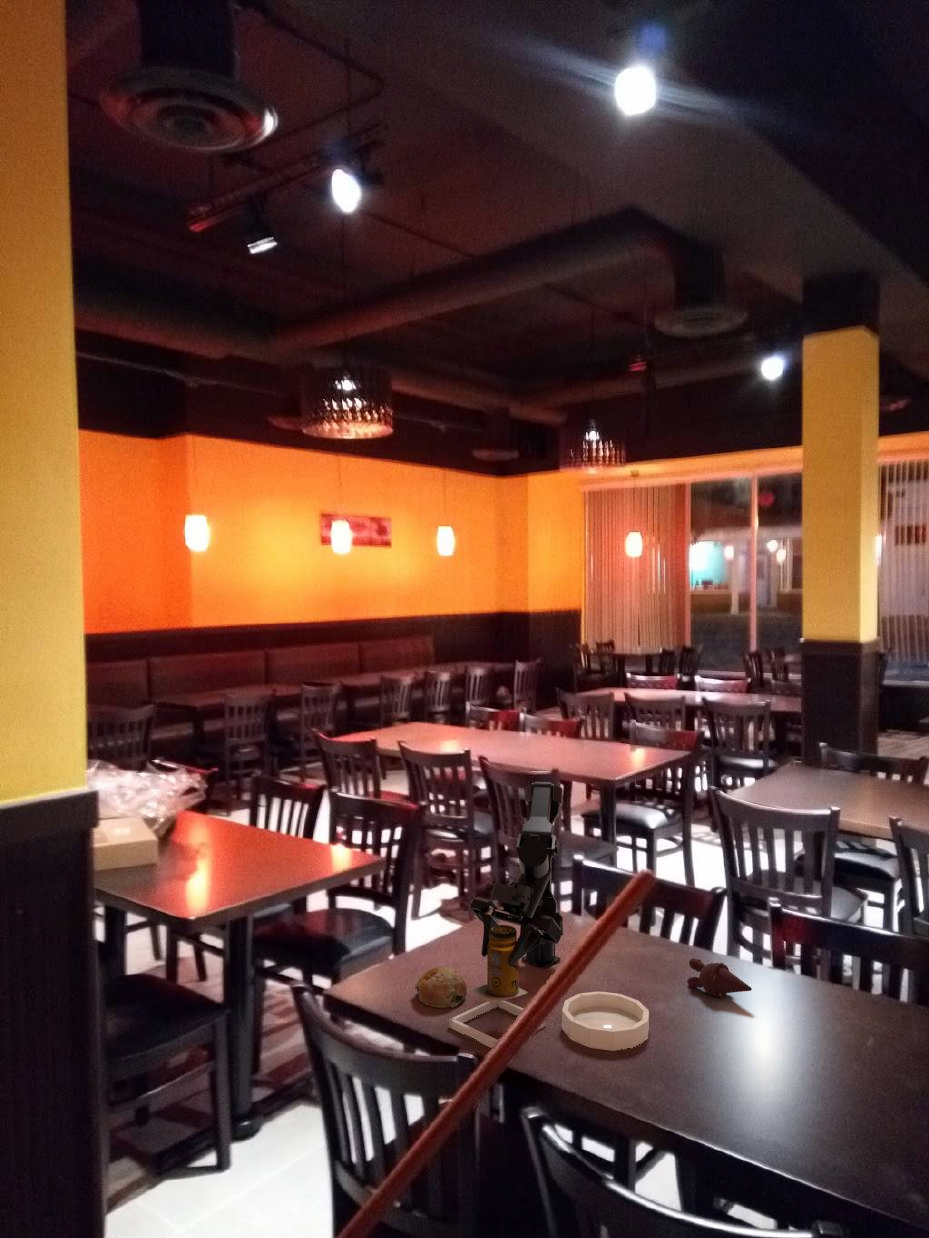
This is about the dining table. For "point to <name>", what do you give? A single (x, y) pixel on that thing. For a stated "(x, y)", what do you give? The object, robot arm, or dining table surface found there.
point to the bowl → (605, 1020)
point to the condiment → (500, 967)
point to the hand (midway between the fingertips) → (496, 959)
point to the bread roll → (441, 988)
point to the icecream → (716, 979)
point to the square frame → (458, 1021)
